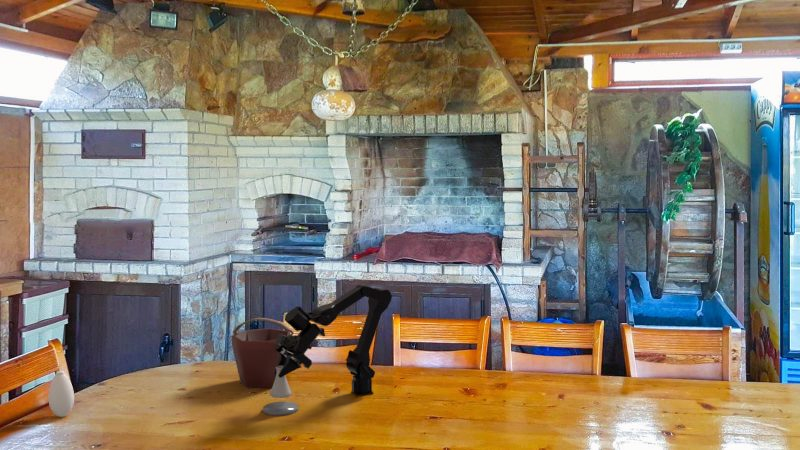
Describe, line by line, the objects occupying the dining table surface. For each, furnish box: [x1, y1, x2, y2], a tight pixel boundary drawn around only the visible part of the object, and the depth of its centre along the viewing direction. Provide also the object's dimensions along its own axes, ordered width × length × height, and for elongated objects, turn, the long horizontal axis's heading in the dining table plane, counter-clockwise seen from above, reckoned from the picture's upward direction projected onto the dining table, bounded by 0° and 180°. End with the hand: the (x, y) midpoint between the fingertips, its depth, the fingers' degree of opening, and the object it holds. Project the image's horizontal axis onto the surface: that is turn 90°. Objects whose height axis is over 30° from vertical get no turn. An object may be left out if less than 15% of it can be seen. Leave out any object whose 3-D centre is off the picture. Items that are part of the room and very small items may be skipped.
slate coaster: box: [262, 401, 299, 417], centre depth 257 cm, size 12×12×1 cm
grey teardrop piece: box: [48, 363, 75, 418], centre depth 252 cm, size 8×8×18 cm
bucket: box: [231, 317, 295, 390], centre depth 288 cm, size 24×22×25 cm
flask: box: [269, 366, 293, 399], centre depth 256 cm, size 7×7×10 cm
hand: (277, 375), depth 255 cm, fingers closed on flask, 3 cm apart
